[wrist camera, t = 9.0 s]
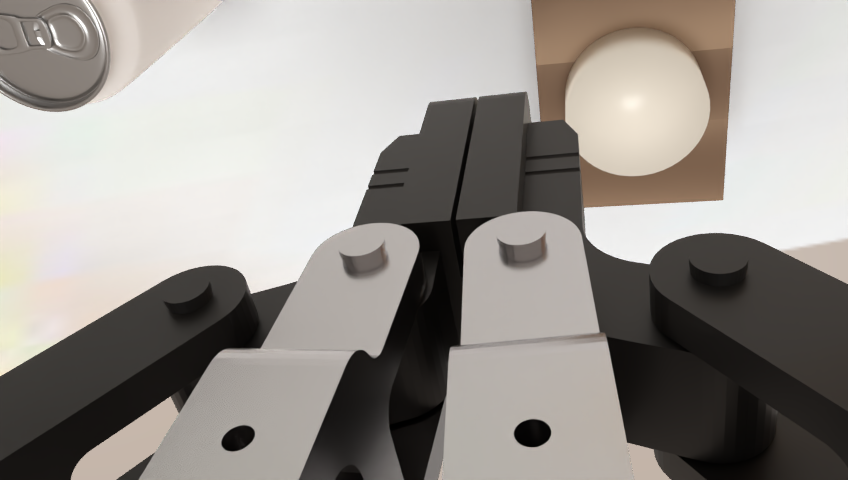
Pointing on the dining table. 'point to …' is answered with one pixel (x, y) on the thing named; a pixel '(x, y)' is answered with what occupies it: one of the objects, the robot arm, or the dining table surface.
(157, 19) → the can
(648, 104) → the knob
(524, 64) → the dining table surface
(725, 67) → the mount
